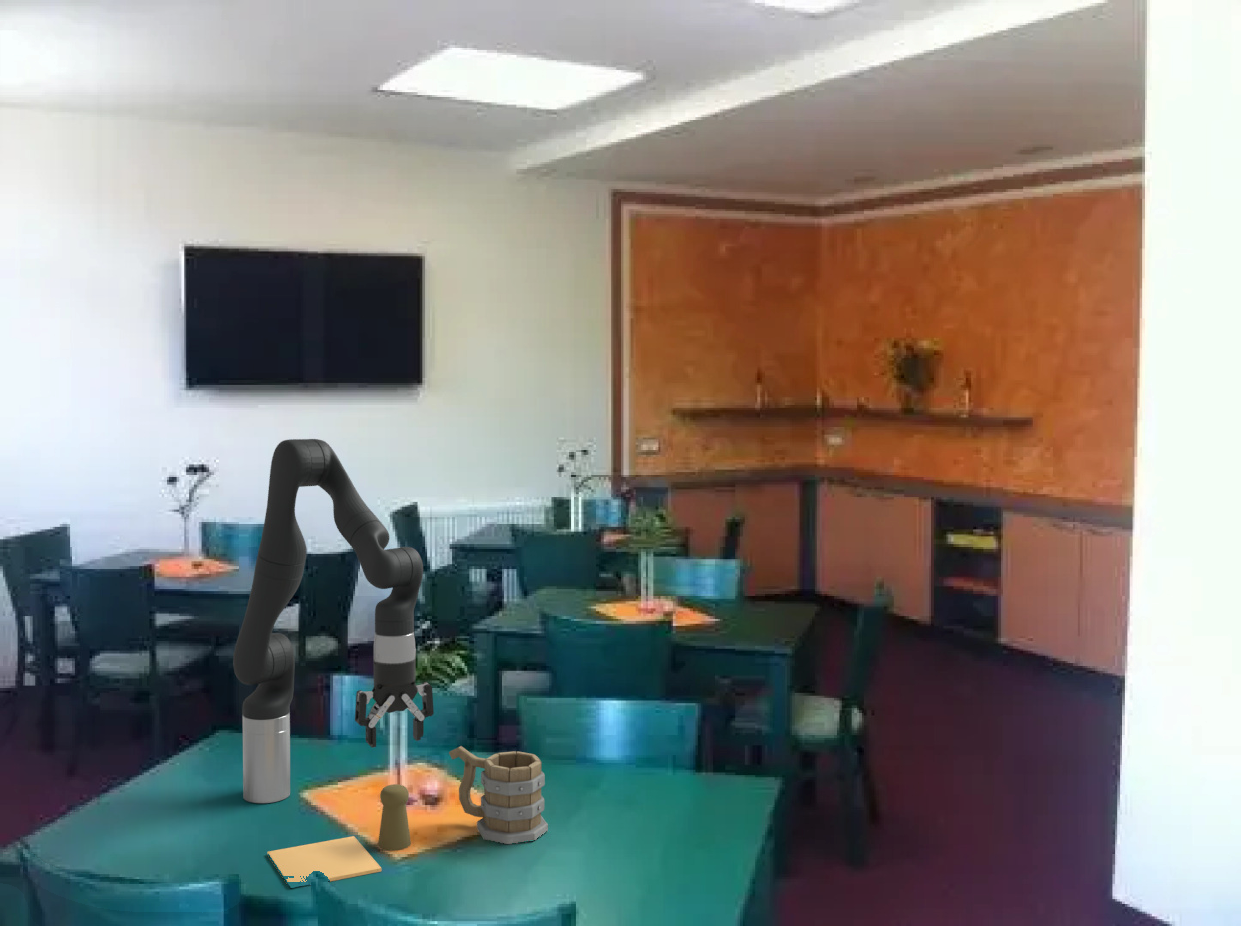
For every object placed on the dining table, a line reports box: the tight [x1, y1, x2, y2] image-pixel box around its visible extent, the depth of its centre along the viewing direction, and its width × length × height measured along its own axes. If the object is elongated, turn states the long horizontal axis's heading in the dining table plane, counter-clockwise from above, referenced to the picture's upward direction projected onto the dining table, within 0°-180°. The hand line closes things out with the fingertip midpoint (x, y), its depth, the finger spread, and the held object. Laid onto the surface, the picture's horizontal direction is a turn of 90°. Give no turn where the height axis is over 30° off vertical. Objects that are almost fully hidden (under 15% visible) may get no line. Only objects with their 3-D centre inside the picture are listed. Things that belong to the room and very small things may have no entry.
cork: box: [377, 784, 412, 852], centre depth 232 cm, size 6×6×11 cm
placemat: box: [267, 835, 382, 882], centre depth 223 cm, size 16×16×1 cm
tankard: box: [448, 745, 549, 845], centre depth 240 cm, size 20×13×15 cm, turn 65°
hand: (394, 742), depth 230 cm, fingers open, 8 cm apart
